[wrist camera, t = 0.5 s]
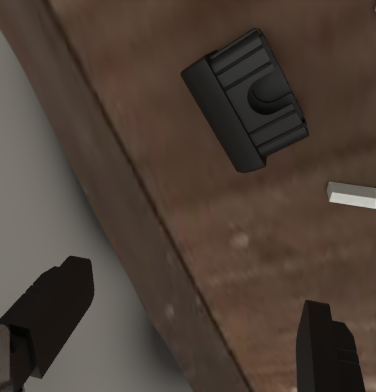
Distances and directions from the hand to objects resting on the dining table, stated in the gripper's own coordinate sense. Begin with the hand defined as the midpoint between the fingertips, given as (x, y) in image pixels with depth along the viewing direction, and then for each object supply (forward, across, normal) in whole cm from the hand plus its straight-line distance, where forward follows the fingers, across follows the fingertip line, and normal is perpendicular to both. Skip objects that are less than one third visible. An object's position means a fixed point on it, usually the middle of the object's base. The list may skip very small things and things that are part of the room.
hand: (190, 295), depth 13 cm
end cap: (+25, 0, -2) cm, 25 cm away
